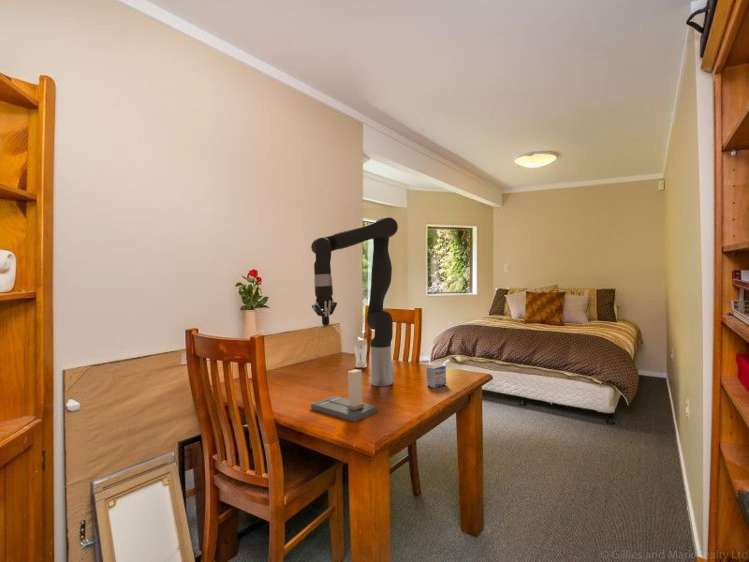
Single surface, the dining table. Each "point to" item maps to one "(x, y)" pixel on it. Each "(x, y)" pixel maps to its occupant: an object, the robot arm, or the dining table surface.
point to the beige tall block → (355, 389)
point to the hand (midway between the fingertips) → (325, 325)
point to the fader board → (343, 408)
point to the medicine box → (436, 376)
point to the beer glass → (360, 352)
